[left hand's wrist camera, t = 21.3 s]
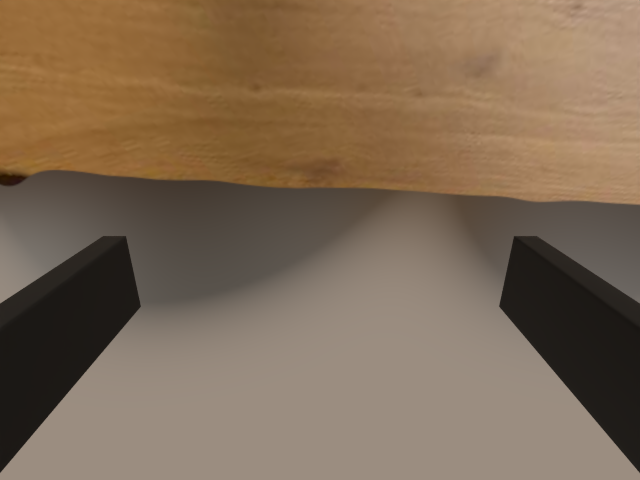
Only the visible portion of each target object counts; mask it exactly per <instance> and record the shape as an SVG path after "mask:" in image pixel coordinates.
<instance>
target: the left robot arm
mask: <svg viewBox="0 0 640 480" xmlns="http://www.w3.org/2000/svg"><path fill="white" fill-rule="evenodd" d="M140 307H141V306H140V301H139V296H138V291H137V287H136V282H135V277H134V272H133V268H132V263H131V258H130V254H129V249H128V244H127V239H126V236H103V237H101V238H100V239H98V240H97V241H95V242H94V243H92V244H91V245H89V246H88V247H86V248H85V249H83V250H82V251H80V252H78V253H77V254H75V255H74V256H72V257H71V258H69V259H68V260H66V261H65V262H63V263H62V264H60V265H59V266H57V267H55V268H54V269H52V270H51V271H49V272H48V273H46V274H45V275H43V276H42V277H40V278H39V279H37V280H36V281H34V282H33V283H31V284H30V285H28V286H26V287H25V288H23V289H22V290H20V291H19V292H17V293H16V294H14V295H13V296H11V297H10V298H8V299H7V300H5V301H3V302H2V303H0V472H1V471H2V470H3V469H4V468H5V466H6V465H7V464H8V463H9V462H10V461H11V459H12V458H13V457H14V456H15V455H16V453H17V452H18V451H19V450H20V449H21V448H22V446H23V445H24V444H25V443H26V442H27V440H28V439H29V438H30V437H31V436H32V435H33V433H34V432H35V431H36V430H37V429H38V427H39V426H40V425H41V424H42V423H43V422H44V420H45V419H46V418H47V417H48V416H49V414H50V413H51V412H52V411H53V410H54V408H55V407H56V406H57V405H58V404H59V403H60V401H61V400H62V399H63V398H64V397H65V395H66V394H67V393H68V392H69V391H70V390H71V388H72V387H73V386H74V385H75V384H76V382H77V381H78V380H79V379H80V378H81V376H82V375H83V374H84V373H85V372H86V371H87V369H88V368H89V367H90V366H91V365H92V363H93V362H94V361H95V360H96V359H97V358H98V356H99V355H100V354H101V353H102V352H103V351H104V349H105V348H106V347H107V346H108V345H109V343H110V342H111V341H112V340H113V339H114V338H115V336H116V335H117V334H118V333H119V332H120V330H121V329H122V328H123V327H124V326H125V324H126V323H127V322H128V321H129V320H130V319H131V317H132V316H133V315H134V314H135V313H136V311H137V310H138V309H139V308H140ZM499 307H500V308H501V309H502V310H503V311H504V313H505V314H506V315H507V316H508V317H509V319H510V320H511V321H512V322H513V323H514V324H515V326H516V327H517V328H518V329H519V330H520V332H521V333H522V334H523V335H524V336H525V338H526V339H527V340H528V341H529V342H530V343H531V345H532V346H533V347H534V348H535V349H536V351H537V352H538V353H539V354H540V355H541V356H542V358H543V359H544V360H545V361H546V362H547V364H548V365H549V366H550V367H551V368H552V369H553V371H554V372H555V373H556V374H557V375H558V377H559V378H560V379H561V380H562V381H563V382H564V384H565V385H566V386H567V387H568V388H569V390H570V391H571V392H572V393H573V394H574V396H575V397H576V398H577V399H578V400H579V401H580V403H581V404H582V405H583V406H584V407H585V408H586V410H587V411H588V412H589V413H590V414H591V416H592V417H593V418H594V419H595V420H596V422H597V423H598V424H599V425H600V426H601V427H602V429H603V430H604V431H605V432H606V433H607V435H608V436H609V437H610V438H611V439H612V440H613V442H614V443H615V444H616V445H617V446H618V448H619V449H620V450H621V451H622V452H623V453H624V455H625V456H626V457H627V458H628V459H629V461H630V462H631V463H632V464H633V465H634V466H635V468H636V469H637V470H638V471H639V472H640V303H638V302H637V301H635V300H633V299H632V298H630V297H629V296H627V295H626V294H624V293H623V292H621V291H620V290H618V289H617V288H615V287H613V286H612V285H611V284H609V283H607V282H606V281H604V280H603V279H601V278H600V277H598V276H597V275H595V274H594V273H592V272H591V271H589V270H587V269H586V268H584V267H583V266H582V265H580V264H578V263H577V262H575V261H574V260H572V259H571V258H569V257H568V256H566V255H565V254H563V253H562V252H560V251H559V250H557V249H556V248H554V247H552V246H551V245H549V244H548V243H546V242H545V241H543V240H542V239H540V238H539V237H537V236H514V239H513V244H512V249H511V254H510V258H509V263H508V268H507V272H506V277H505V282H504V287H503V291H502V296H501V301H500V305H499Z"/></svg>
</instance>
